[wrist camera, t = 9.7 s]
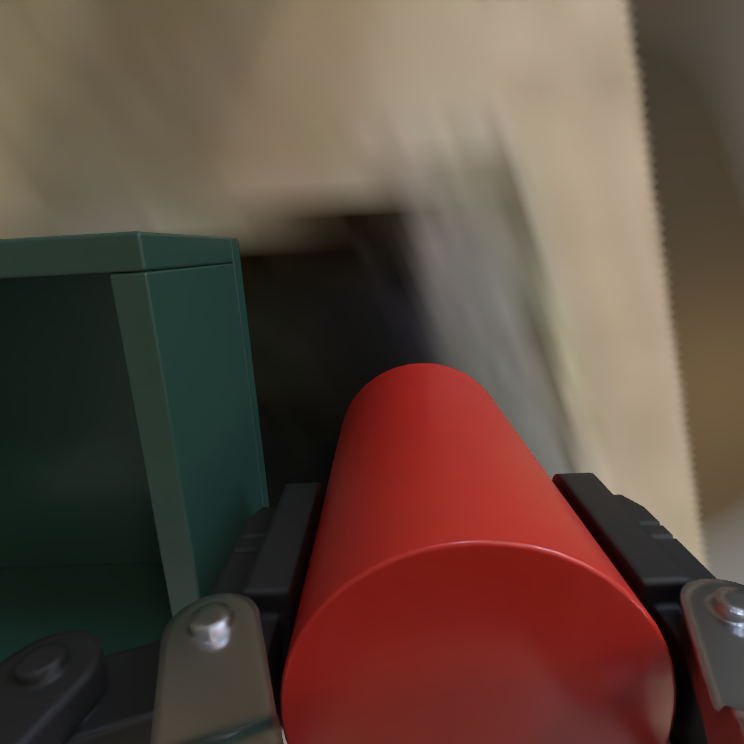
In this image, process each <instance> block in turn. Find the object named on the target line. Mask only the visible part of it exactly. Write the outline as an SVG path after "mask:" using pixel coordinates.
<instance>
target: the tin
mask: <svg viewBox="0 0 744 744" xmlns="http://www.w3.org/2000/svg"><path fill="white" fill-rule="evenodd" d="M676 691H677V690H676V682H675V674H674V667H673V663H672V660H671V657H670V653H669V650H668V647H667V644H666V642H665V640H664V638H663V636H662V634H661V632H660V630H659V628H658V626H657V624H656V623H655V621H654V620H653V619H652V617H651V616H650V615H649V613H648V612H647V610H646V609H645V608H644V606H643V605H642V603H641V602H640V601H639V599H638V598H637V597H636V595H635V594H634V592H633V591H632V590H631V588H630V587H629V586H628V584H627V583H626V581H625V580H624V579H623V577H622V576H621V575H620V573H619V572H618V571H617V569H616V568H615V566H614V565H613V564H612V562H611V561H610V560H609V558H608V557H607V555H606V554H605V553H604V551H603V550H602V549H601V547H600V546H599V545H598V543H597V542H596V540H595V539H594V538H593V536H592V535H591V534H590V532H589V531H588V529H587V528H586V527H585V525H584V524H583V523H582V521H581V520H580V518H579V517H578V516H577V514H576V513H575V512H574V510H573V509H572V508H571V506H570V505H569V503H568V502H567V501H566V499H565V498H564V497H563V495H562V494H561V492H560V491H559V490H558V488H557V487H556V486H555V484H554V483H553V482H552V480H551V479H550V477H549V476H548V475H547V473H546V472H545V471H544V469H543V468H542V466H541V465H540V464H539V462H538V461H537V460H536V458H535V457H534V455H533V454H532V453H531V451H530V450H529V449H528V447H527V446H526V445H525V443H524V442H523V440H522V439H521V438H520V436H519V435H518V434H517V432H516V431H515V429H514V428H513V427H512V425H511V424H510V423H509V421H508V420H507V419H506V417H505V416H504V414H503V413H502V412H501V410H500V409H499V408H498V406H497V405H496V403H495V402H494V401H493V399H492V398H491V397H490V395H489V394H488V392H487V391H486V390H485V389H484V388H483V387H482V386H481V385H480V384H479V383H477V382H476V381H475V380H474V379H472V378H471V377H469V376H468V375H466V374H464V373H463V372H460V371H458V370H456V369H453V368H450V367H447V366H443V365H438V364H431V363H417V364H408V365H404V366H400V367H396V368H394V369H391V370H388V371H386V372H384V373H382V374H381V375H379V376H377V377H376V378H374V379H373V380H371V381H370V382H369V383H368V384H367V385H365V386H364V387H363V388H362V389H361V390H360V391H359V393H358V394H357V395H356V396H355V398H354V399H353V401H352V402H351V404H350V406H349V407H348V410H347V412H346V414H345V416H344V420H343V424H342V427H341V431H340V436H339V440H338V444H337V448H336V452H335V457H334V461H333V465H332V469H331V473H330V478H329V482H328V486H327V490H326V494H325V499H324V503H323V507H322V511H321V515H320V519H319V524H318V528H317V532H316V536H315V540H314V545H313V549H312V553H311V557H310V561H309V566H308V570H307V574H306V578H305V582H304V586H303V591H302V595H301V599H300V603H299V607H298V612H297V616H296V620H295V624H294V628H293V633H292V637H291V641H290V645H289V649H288V654H287V658H286V662H285V666H284V670H283V674H282V682H281V691H280V709H281V719H282V724H283V729H284V734H285V738H286V741H287V743H288V744H667V742H668V739H669V736H670V734H671V731H672V726H673V721H674V717H675V712H676Z"/></svg>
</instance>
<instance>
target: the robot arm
mask: <svg viewBox="0 0 744 744" xmlns="http://www.w3.org/2000/svg"><path fill="white" fill-rule="evenodd" d="M552 482H553V483H554V484H555V486H556V487H557V488H558V490H559V491H560V492H561V494H562V495H563V497H564V498H565V499H566V501H567V502H568V503H569V505H570V506H571V508H572V509H573V510H574V512H575V513H576V514H577V516H578V517H579V518H580V520H581V521H582V523H583V524H584V525H585V527H586V528H587V529H588V531H589V532H590V534H591V535H592V536H593V538H594V539H595V540H596V542H597V543H598V545H599V546H600V547H601V549H602V550H603V551H604V553H605V554H606V555H607V557H608V558H609V560H610V561H611V562H612V564H613V565H614V566H615V568H616V569H617V571H618V572H619V573H620V575H621V576H622V577H623V579H624V580H625V581H626V583H627V584H628V586H629V587H630V588H631V590H632V591H633V592H634V594H635V595H636V597H637V598H638V599H639V601H640V602H641V603H642V605H643V606H644V608H645V609H646V610H647V612H648V613H649V615H650V616H651V617H652V619H653V620H654V621H655V623H656V624H657V626H658V628H659V630H660V632H661V634H662V636H663V638H664V640H665V642H666V644H667V647H668V650H669V653H670V657H671V660H672V663H673V667H674V674H675V682H676V690H677V691H676V712H675V717H674V721H673V726H672V731H671V734H670V736H669V739H668V742H667V744H744V585H742V584H738V583H735V582H731V581H726V580H720V579H716V578H715V577H714V576H713V575H712V574H711V573H710V572H709V571H708V570H707V569H706V568H705V567H704V566H703V565H702V564H701V563H700V562H699V561H698V560H697V559H696V558H695V557H694V556H693V555H692V554H691V553H690V552H689V551H688V550H687V549H686V548H685V547H684V546H683V545H682V544H681V543H680V542H679V541H678V540H677V539H673V535H672V534H671V533H670V532H669V531H668V530H667V529H666V528H665V527H664V526H663V525H661V526H660V523H659V521H658V520H657V519H656V518H655V517H654V516H652V515H651V514H650V513H649V512H648V511H647V510H646V509H645V508H644V507H643V506H641V505H639V504H637V503H635V502H634V501H632V500H630V499H628V498H626V497H624V496H622V495H613V494H612V493H611V492H610V491H609V490H608V489H607V488H606V487H605V486H604V484H603V483H602V482H601V481H600V480H599V479H598V478H597V477H596V476H595V475H594V474H593V473H570V474H555V475H554V477H553V480H552ZM322 507H323V492H322V486H321V483H295V484H287V485H286V486H285V488H284V491H283V493H282V496H281V498H280V500H279V503H278V505H277V507H262V508H261V509H260V510H258V511H257V512H256V513H255V514H254V515H252V516H251V517H250V518H249V519H248V520H246V522H245V524H244V526H243V528H242V530H241V532H240V534H239V536H238V539H237V540H236V542H235V544H234V545H233V547H232V552H231V553H229V555H228V557H227V559H226V561H225V563H224V565H223V567H222V569H221V571H220V573H219V575H218V577H217V579H216V581H215V583H214V585H213V587H212V589H211V591H210V593H209V595H208V596H207V597H204V598H201V599H199V600H197V601H194V602H193V603H191V604H189V605H187V606H186V607H184V608H183V609H181V610H180V611H179V612H178V613H177V614H175V615H174V616H173V618H172V619H171V620H170V621H169V622H168V624H167V625H166V627H165V629H164V631H163V633H162V638H161V639H160V640H157V641H155V642H152V643H149V644H146V645H142V646H138V647H135V648H131V649H127V650H124V651H120V652H116V653H113V654H109V655H105V656H103V651H102V647H101V643H100V640H99V639H98V637H97V636H96V635H94V634H92V633H91V632H87V631H82V630H69V631H63V632H59V633H55V634H51V635H48V636H46V637H43V638H40V639H38V640H36V641H34V642H32V643H30V644H28V645H26V646H24V647H23V648H21V649H19V650H18V651H16V652H15V653H13V654H12V655H10V656H9V657H8V658H7V659H5V660H4V661H3V662H2V663H0V744H283V738H282V732H281V723H282V719H281V709H280V691H281V682H282V674H283V670H284V666H285V662H286V658H287V654H288V649H289V645H290V641H291V637H292V633H293V628H294V624H295V620H296V616H297V612H298V607H299V603H300V599H301V595H302V591H303V586H304V582H305V578H306V574H307V570H308V566H309V561H310V557H311V553H312V549H313V545H314V540H315V536H316V532H317V528H318V524H319V519H320V515H321V511H322Z"/></svg>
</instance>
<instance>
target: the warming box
mask: <svg viewBox="0 0 744 744" xmlns="http://www.w3.org/2000/svg"><path fill="white" fill-rule="evenodd" d="M262 507H269V499H268V490H267V482H266V473H265V465H264V456H263V448H262V439H261V431H260V422H259V414H258V405H257V397H256V388H255V380H254V371H253V363H252V354H251V346H250V337H249V329H248V320H247V312H246V303H245V295H244V286H243V278H242V269H241V261H240V252H239V244H238V239H237V238H225V237H210V236H196V235H181V234H167V233H153V232H138V231H135V232H118V233H100V234H83V235H65V236H48V237H30V238H13V239H0V663H2V662H3V661H4V660H5V659H7V658H8V657H9V656H10V655H12V654H13V653H15V652H16V651H18V650H19V649H21V648H23V647H24V646H26V645H28V644H30V643H32V642H34V641H36V640H38V639H40V638H43V637H46V636H48V635H51V634H55V633H59V632H63V631H69V630H82V631H87V632H91V633H92V634H94V635H96V636H97V637H98V639H99V640H100V643H101V647H102V651H103V656H105V655H109V654H113V653H116V652H120V651H124V650H127V649H131V648H135V647H138V646H142V645H146V644H149V643H152V642H155V641H157V640H160V639H161V638H162V633H163V631H164V629H165V627H166V625H167V624H168V622H169V621H170V620H171V619H172V618H173V616H174V615H175V614H177V613H178V612H179V611H180V610H181V609H183V608H184V607H186V606H187V605H189V604H191V603H193V602H194V601H197V600H199V599H201V598H204V597H207V596H208V595H209V593H210V591H211V589H212V587H213V585H214V583H215V581H216V579H217V577H218V575H219V573H220V571H221V569H222V567H223V565H224V563H225V561H226V559H227V557H228V555H229V553H231V552H232V547H233V545H234V544H235V542H236V540H237V539H238V536H239V534H240V532H241V530H242V528H243V526H244V524H245V522H246V520H248V519H249V518H250V517H251V516H252V515H254V514H255V513H256V512H257V511H258V510H260V509H261V508H262Z"/></svg>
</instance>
